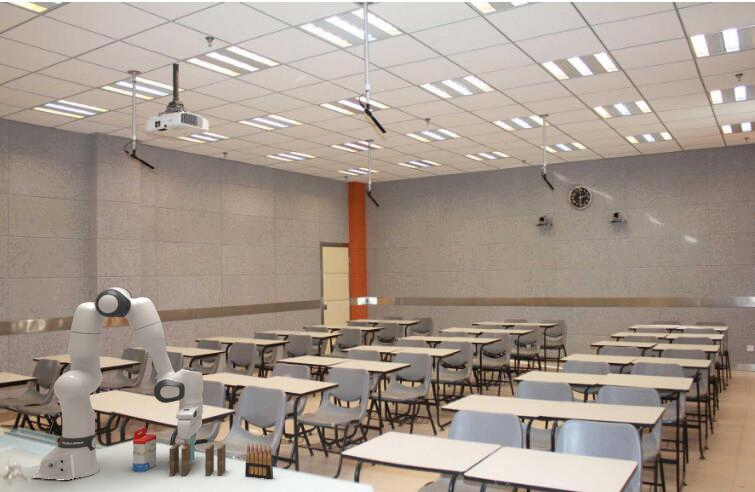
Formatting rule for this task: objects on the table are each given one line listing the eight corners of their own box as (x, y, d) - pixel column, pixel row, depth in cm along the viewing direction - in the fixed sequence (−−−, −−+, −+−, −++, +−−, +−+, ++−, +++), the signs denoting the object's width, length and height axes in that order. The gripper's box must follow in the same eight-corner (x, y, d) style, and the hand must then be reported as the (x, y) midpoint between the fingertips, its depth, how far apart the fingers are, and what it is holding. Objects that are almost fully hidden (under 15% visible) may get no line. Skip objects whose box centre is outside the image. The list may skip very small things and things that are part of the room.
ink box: (144, 472, 237) (144, 432, 237) (132, 471, 238) (132, 432, 238) (156, 465, 245) (156, 427, 246) (145, 464, 246) (145, 426, 247)
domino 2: (181, 476, 231) (181, 448, 232) (186, 471, 237) (186, 444, 238) (185, 476, 231) (185, 448, 232) (190, 471, 237) (190, 444, 238)
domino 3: (185, 463, 241) (186, 437, 242) (190, 459, 247) (190, 433, 248) (189, 463, 241) (190, 437, 242) (194, 459, 247) (194, 433, 248)
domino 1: (169, 476, 231) (169, 448, 232) (174, 471, 237) (174, 444, 238) (173, 476, 231) (173, 448, 232) (178, 471, 237) (178, 444, 238)
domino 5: (217, 475, 231) (217, 448, 232) (221, 470, 237) (221, 443, 238) (221, 475, 231) (221, 448, 232) (225, 470, 237) (225, 443, 238)
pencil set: (244, 476, 230) (244, 443, 231) (247, 475, 232) (247, 442, 233) (270, 479, 227) (270, 446, 227) (273, 478, 228) (273, 444, 229)
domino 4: (205, 476, 231) (205, 448, 232) (209, 470, 237) (209, 444, 238) (209, 476, 231) (209, 448, 232) (213, 470, 237) (213, 443, 238)
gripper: (190, 403, 256) (190, 438, 255) (174, 415, 235) (174, 452, 235) (206, 403, 256) (205, 438, 255) (191, 415, 235) (190, 453, 235)
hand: (190, 445), depth 245 cm, fingers closed on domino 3, 6 cm apart
